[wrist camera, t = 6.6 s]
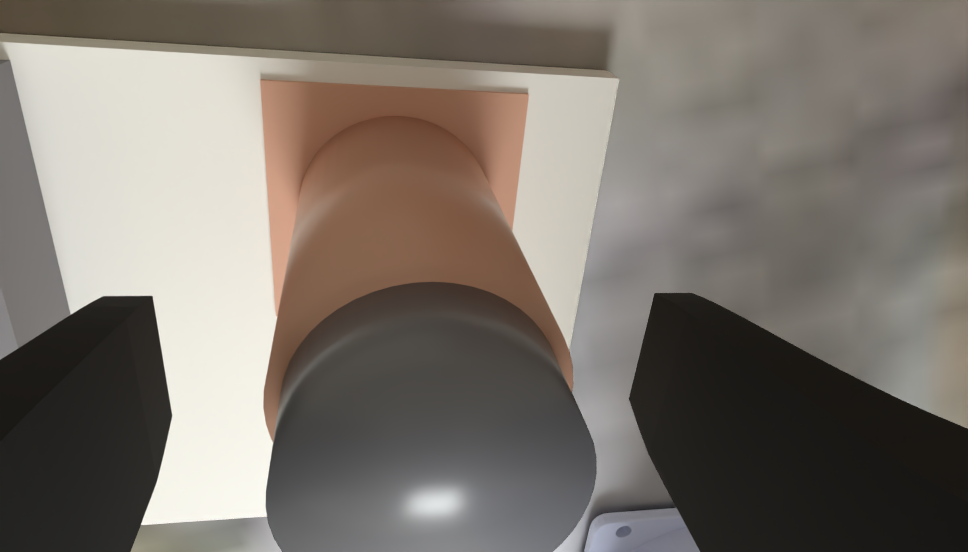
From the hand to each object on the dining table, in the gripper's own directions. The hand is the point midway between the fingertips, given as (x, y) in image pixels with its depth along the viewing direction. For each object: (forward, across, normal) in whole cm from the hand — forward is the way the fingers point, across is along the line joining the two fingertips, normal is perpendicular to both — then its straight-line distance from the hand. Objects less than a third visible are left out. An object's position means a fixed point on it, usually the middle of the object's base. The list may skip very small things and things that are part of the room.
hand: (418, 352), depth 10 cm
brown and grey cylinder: (+5, 0, 0) cm, 5 cm away
